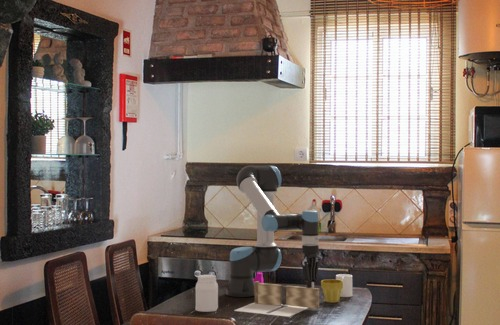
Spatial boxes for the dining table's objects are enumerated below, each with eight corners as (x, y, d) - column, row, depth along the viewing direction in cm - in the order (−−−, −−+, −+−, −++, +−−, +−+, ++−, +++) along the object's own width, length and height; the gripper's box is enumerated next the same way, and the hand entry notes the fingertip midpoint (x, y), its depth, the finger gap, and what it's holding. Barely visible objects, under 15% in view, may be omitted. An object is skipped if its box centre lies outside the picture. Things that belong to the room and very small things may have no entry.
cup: (334, 298, 347) (334, 277, 347) (336, 293, 359) (336, 273, 359) (350, 298, 346) (350, 278, 346) (353, 294, 357) (353, 274, 357)
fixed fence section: (253, 303, 333) (253, 281, 333) (255, 302, 335) (255, 281, 335) (280, 305, 326) (280, 284, 326) (282, 305, 328) (282, 283, 328)
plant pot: (321, 303, 334) (321, 282, 334) (320, 299, 345) (320, 279, 344) (343, 303, 334) (343, 282, 334) (341, 299, 344) (341, 279, 344)
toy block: (263, 285, 383) (263, 271, 383) (261, 287, 377) (261, 273, 377) (236, 284, 386) (236, 271, 386) (233, 286, 380) (233, 272, 380)
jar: (215, 311, 315) (215, 278, 315) (194, 311, 316) (194, 278, 316) (218, 306, 327) (218, 274, 327) (198, 306, 327) (198, 273, 327)
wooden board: (281, 304, 326) (281, 285, 326) (283, 303, 328) (283, 284, 328) (317, 308, 317) (317, 289, 317) (319, 308, 318) (319, 288, 318)
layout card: (234, 311, 317) (234, 310, 317) (256, 302, 337) (256, 301, 337) (289, 317, 305) (289, 316, 305) (308, 307, 324) (308, 306, 324)
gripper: (309, 246, 315) (310, 299, 315) (324, 243, 326) (325, 294, 326) (295, 245, 320) (296, 297, 320) (310, 242, 330) (311, 293, 330)
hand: (310, 296), depth 323 cm, fingers closed
